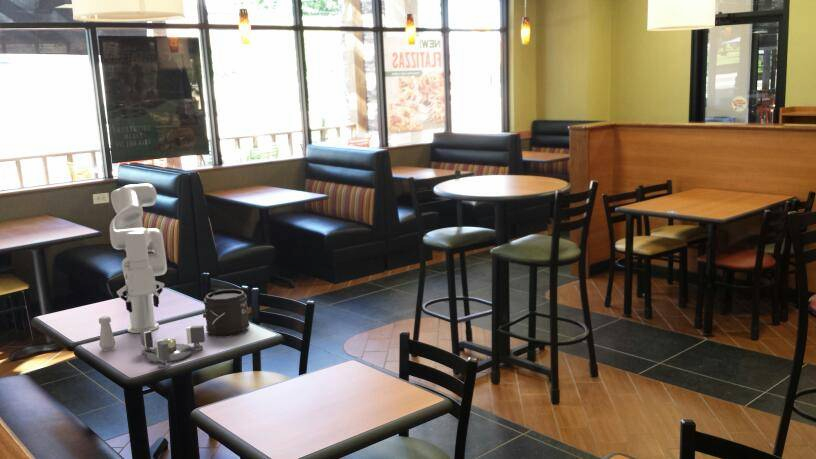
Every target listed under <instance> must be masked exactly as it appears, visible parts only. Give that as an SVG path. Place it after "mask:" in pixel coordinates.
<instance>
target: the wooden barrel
mask: <svg viewBox="0 0 816 459" xmlns="http://www.w3.org/2000/svg"><path fill="white" fill-rule="evenodd" d="M247 300H248V297H247V294H246V293H245V292H244V290H242V289H235V288H230V289H228V288H227V289H220V290H215V291H213V292H211V291H210V293H206V295H205V297H204V298H203V304H204V313H202V318H203V319H205V322H206V325H205V329H206V332H207V333H208V334H209V336H212V337H216V338H226V337H227V338H229V337H234V336H238V335H242V334H244V333H245V332H247V331H248V328H249V327H250V324H251V323H250V322H249V308H248V307H249V306H248V303H247Z"/></svg>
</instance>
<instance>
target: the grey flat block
mask: <svg viewBox="0 0 816 459" xmlns="http://www.w3.org/2000/svg"><path fill="white" fill-rule="evenodd" d="M139 335H140V343H141V345H142V346H143V347H144V350H145V351H149V350H150V349H152V348H154V341H153V333H152V331H150V330H148V329H147V328H144V329H140V333H139Z"/></svg>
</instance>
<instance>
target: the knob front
mask: <svg viewBox="0 0 816 459" xmlns="http://www.w3.org/2000/svg"><path fill="white" fill-rule="evenodd" d="M164 340H165V339H163V338H162V339H157V340H155V348H157V357H158V358H160V359H161V363H162V364H164V363H167V360H170V358H169V348H168V343H167V342H165V341H164Z"/></svg>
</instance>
